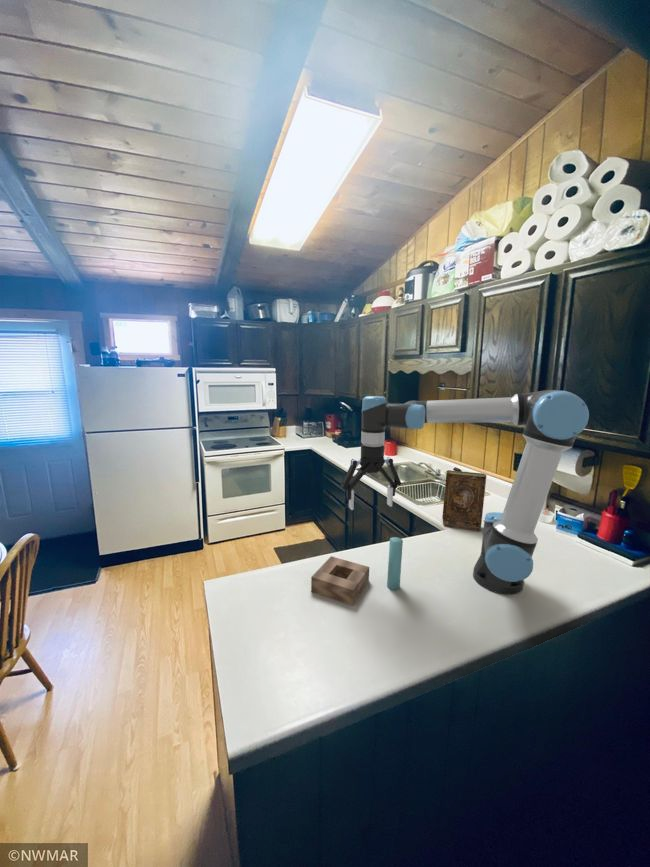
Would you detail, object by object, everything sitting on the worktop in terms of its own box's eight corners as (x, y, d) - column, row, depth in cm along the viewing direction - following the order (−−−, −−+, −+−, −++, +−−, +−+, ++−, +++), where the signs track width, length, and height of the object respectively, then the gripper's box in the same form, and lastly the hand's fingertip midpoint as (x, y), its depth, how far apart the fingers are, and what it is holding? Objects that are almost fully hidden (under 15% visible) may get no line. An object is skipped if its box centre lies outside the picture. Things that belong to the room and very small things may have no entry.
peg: (401, 584, 112) (404, 539, 109) (397, 591, 108) (400, 544, 106) (389, 581, 114) (391, 536, 111) (385, 587, 110) (388, 541, 107)
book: (479, 526, 157) (485, 473, 153) (481, 531, 152) (487, 477, 148) (442, 521, 162) (446, 469, 158) (442, 526, 157) (446, 473, 152)
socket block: (368, 580, 114) (369, 567, 113) (352, 605, 101) (353, 590, 100) (330, 569, 120) (331, 556, 119) (311, 591, 107) (311, 576, 107)
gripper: (402, 440, 118) (400, 500, 121) (332, 443, 112) (331, 505, 115) (413, 445, 111) (410, 507, 114) (338, 448, 105) (337, 514, 108)
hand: (370, 506), depth 115 cm, fingers open, 13 cm apart
